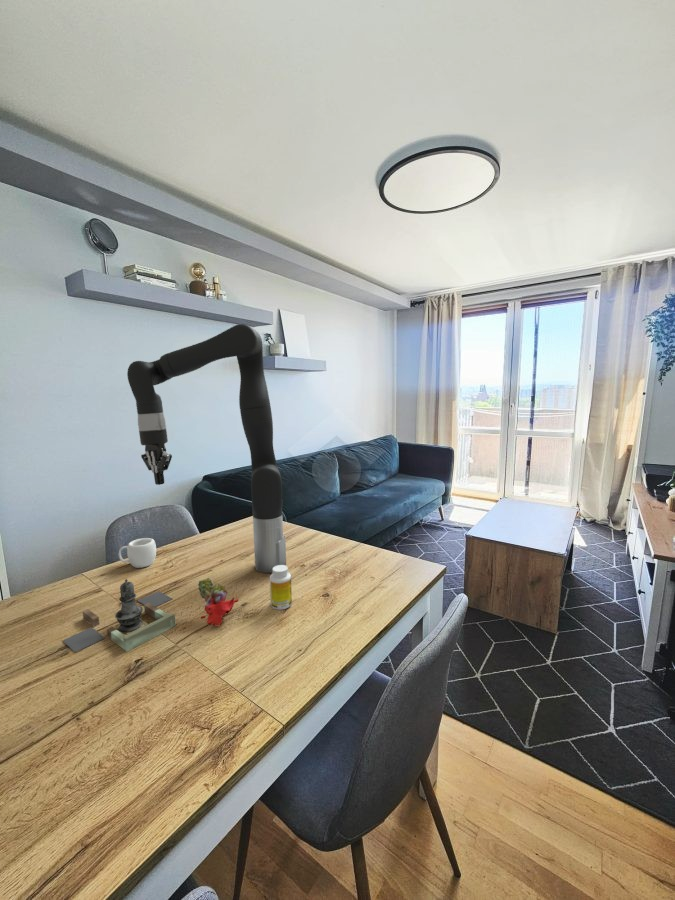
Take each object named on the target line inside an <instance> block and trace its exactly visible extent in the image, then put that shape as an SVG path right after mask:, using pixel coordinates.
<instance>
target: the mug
mask: <svg viewBox="0 0 675 900" xmlns="http://www.w3.org/2000/svg"><path fill="white" fill-rule="evenodd" d="M124 549H126V554H127V559H124V558H123V557H122V551H123V550H124ZM156 555H157V546H156V541H155V540H154V539H153V538H152V537H151V538H149V537H143V538H137V539H135V540H131V541H130V542H128V543H127V545H124V546H121V547H120V548H119V551H118V558H119V560H120V561H121V562H122V563H129V564H130V565H131V567H133V568H135V569H137V568H138V569H141V568H146V567H149V566H151V565H152V564H153V563H154V561H155V559H156Z"/></svg>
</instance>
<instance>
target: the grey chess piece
mask: <svg viewBox="0 0 675 900" xmlns="http://www.w3.org/2000/svg"><path fill="white" fill-rule="evenodd" d="M134 587H135V586H134V583H133V582H131V581H129V580H128V579H127V578H125V580H124V582H123V583H122V584H120V586H119V591H120V597H119V599H118V601H119V602H120V605H121V606H120V610H118V611H117V612H116V613H115V615H114V617H115V619H116V621H117V622H118V624H119V626H118V628H117V630H118V631H119V632H121V633H122V634H124V633H132V632H134V631H136V630H138V629H140V628H142V627H143V626H142V625H143V620H141V619H140V618H141V617H142V614H143V612H144V608H143V607H142V606H141V605H137V604H136V597H137V594H136V593H135V590H134V589H135V588H134Z"/></svg>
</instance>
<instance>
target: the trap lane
mask: <svg viewBox="0 0 675 900" xmlns="http://www.w3.org/2000/svg"><path fill="white" fill-rule="evenodd" d="M143 607H144V608H143V612H144V613H145V614H147V615H148V616H150V617H151V618H153V619H154V621H152V622H151V623H149V624H147V625H145V626H141V627H140V628H138V629H137V630H134V631H132V632H129V634H127V635H125V634H124V633H122V632H119V631H118V629H116V628H115V627H113V626H111V627H108V628H107V629H106V633H107V634H106V635H107V638H108V639H109V640H111V641H112V642H114V643H115V644H116V645H117V646H118V647H120V648H121V649H123V650H124V651H125V652H126V653H128V652H130V651H131V650H134V649H135V648H137V647H140V646H141V645H142V644H144V643H147V642H148V641H150V640H152V639H154V638H156V637H158V636H159V635H161V634H163V633H165V632H166V631H168V630H171V629H172V628H175V627H176V625H177V624H176V614H175V613H174V612H170V613H167V612H165V611H163V610H161V608H159V607H158V606H157V607H155V606H153V605H151V604H150V603H147V604H145V605H143ZM82 618H83V620H84V621H86V623H88V624H90V625H91V627H92V626H93V628H95V627H97V626H99V625H100V618H99V616H98V615H97V614H96V613H94V612H93V611H91V610H90V609H89V608H87V609H85V610H82Z"/></svg>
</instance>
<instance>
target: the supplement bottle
mask: <svg viewBox="0 0 675 900" xmlns="http://www.w3.org/2000/svg"><path fill="white" fill-rule="evenodd" d="M292 595H293V594H292V575H291V573H290V572H289V568H288V566H287V565H286V564H285V565H277V566H275V567H273V569H272V572H271V575H270V576H269V598H270V606H271V608H273V609H275V610H277V611H278V610H281V611H282V610H285V609H288V608H289V607H291V605H292V603H293V599H292V598H293V597H292Z"/></svg>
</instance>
